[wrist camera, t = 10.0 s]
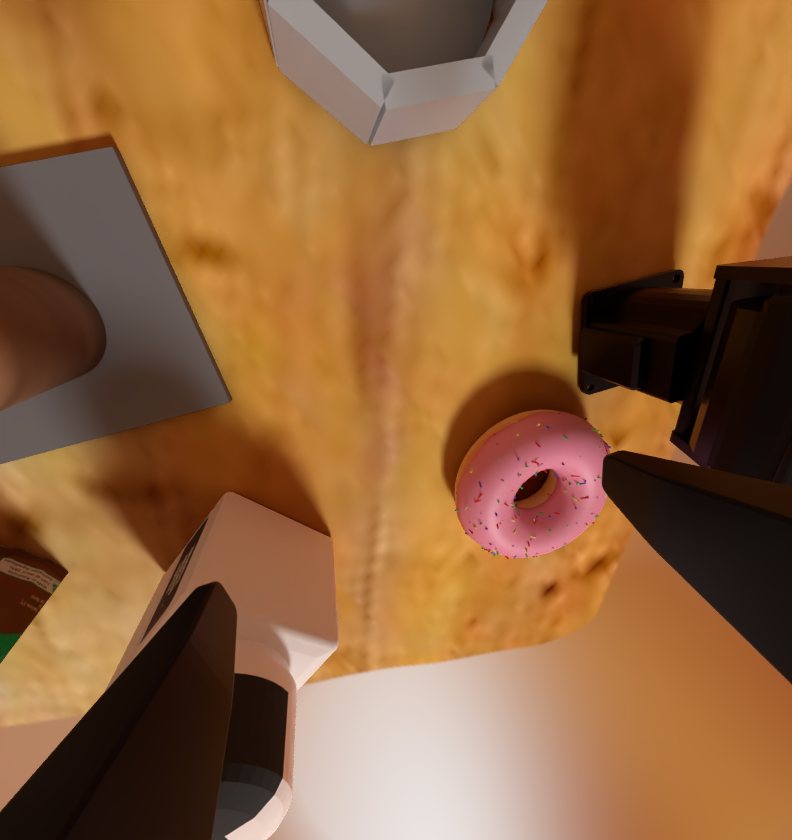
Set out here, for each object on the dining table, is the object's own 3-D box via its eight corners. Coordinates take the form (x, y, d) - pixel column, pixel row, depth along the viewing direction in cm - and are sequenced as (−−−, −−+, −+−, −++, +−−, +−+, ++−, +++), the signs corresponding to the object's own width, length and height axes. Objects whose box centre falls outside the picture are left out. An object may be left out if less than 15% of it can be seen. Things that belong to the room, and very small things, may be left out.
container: (162, 574, 22) (-13, 921, 10) (228, 486, 20) (110, 773, 9) (271, 610, 25) (232, 908, 13) (334, 536, 24) (353, 797, 12)
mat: (119, 150, 14) (112, 146, 13) (232, 399, 18) (230, 402, 18) (-224, 214, 12) (-244, 212, 12) (-8, 463, 17) (-17, 468, 17)
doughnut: (466, 392, 22) (497, 417, 18) (607, 407, 24) (660, 431, 21) (430, 531, 25) (450, 576, 22) (556, 530, 28) (592, 570, 25)
